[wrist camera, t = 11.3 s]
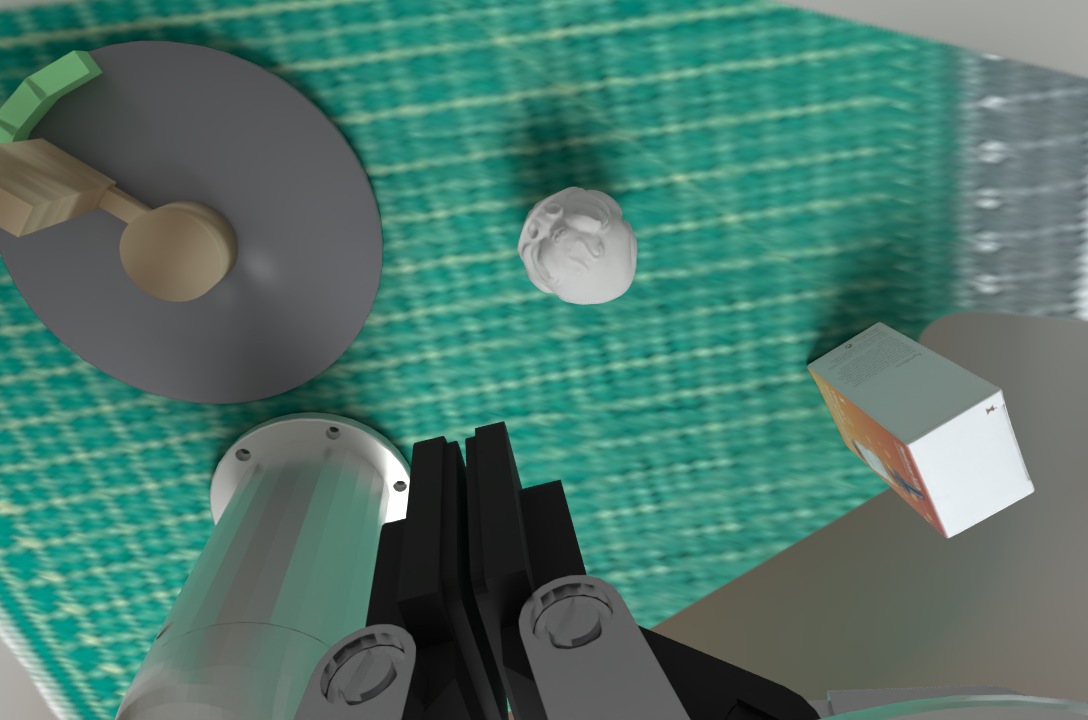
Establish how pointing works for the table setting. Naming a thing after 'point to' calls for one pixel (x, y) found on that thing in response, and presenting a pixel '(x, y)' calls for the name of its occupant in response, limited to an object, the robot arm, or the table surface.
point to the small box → (924, 427)
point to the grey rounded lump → (579, 246)
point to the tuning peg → (151, 235)
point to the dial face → (219, 182)
